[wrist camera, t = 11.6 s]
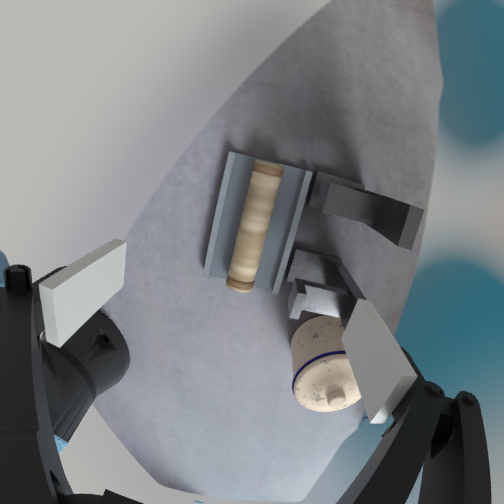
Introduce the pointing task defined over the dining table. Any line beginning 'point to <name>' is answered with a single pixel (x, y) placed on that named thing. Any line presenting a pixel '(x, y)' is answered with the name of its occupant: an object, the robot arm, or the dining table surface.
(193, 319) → the dining table surface
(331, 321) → the teacup with lid
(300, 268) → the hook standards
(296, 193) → the tray
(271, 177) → the wooden cylinder
